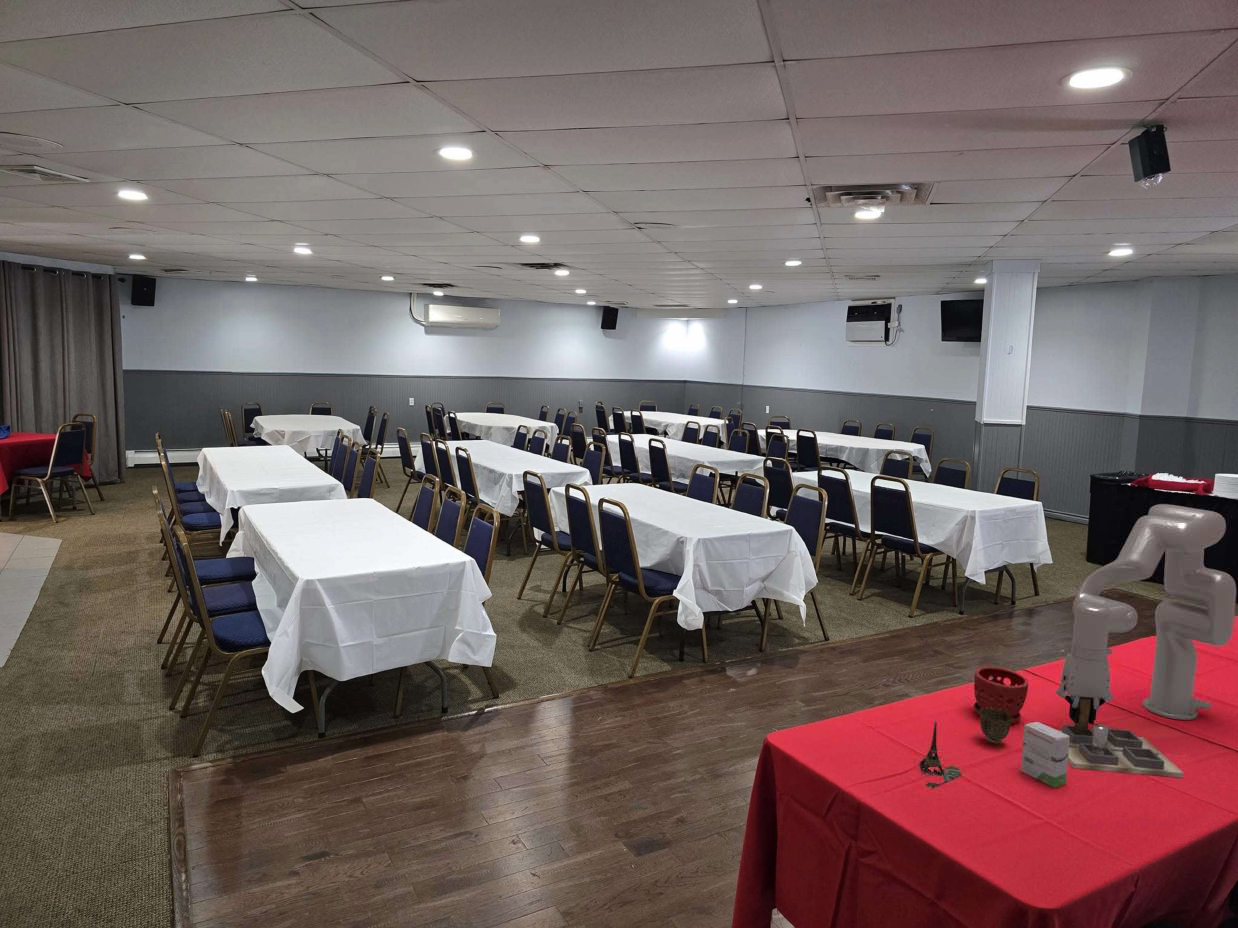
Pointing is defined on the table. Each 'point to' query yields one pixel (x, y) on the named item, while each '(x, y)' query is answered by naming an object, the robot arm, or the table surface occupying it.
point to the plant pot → (1000, 691)
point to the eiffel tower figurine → (937, 765)
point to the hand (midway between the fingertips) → (1081, 720)
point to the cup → (995, 724)
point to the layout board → (1116, 752)
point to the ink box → (1045, 754)
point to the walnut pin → (1083, 713)
